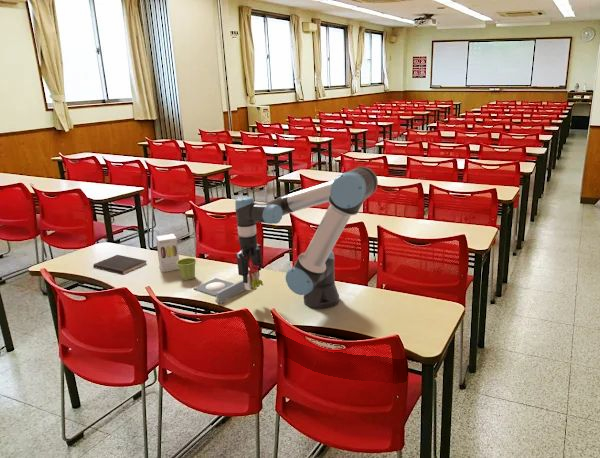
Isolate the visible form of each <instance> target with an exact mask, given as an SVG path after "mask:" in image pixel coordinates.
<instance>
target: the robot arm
mask: <svg viewBox="0 0 600 458" xmlns="http://www.w3.org/2000/svg"><path fill="white" fill-rule="evenodd" d="M378 182H379V181H378V177H377V174H376V173H375V171H373V170H372V169H371V168H369V167H367V166H357V167H355V168H353V169H351V170H349V171H345V172H343V173H340V174H339V175H338V176H337V177H335V179H332V180H330V181H326V182H322V183H320V184H317V185H314V186H310V187H308V188H303V189H301V190H297V191H295V192H292V193H289V194H283V195H281V196H279V197H277V198H275V199H273V200H270V201H268V202H266V203H258V202H255V201H254V198H253V197H252V196H239V197H237V198H236V199H235V202H234V203H235V206H234V207H235V209H234V210H235V215H236V222H237V223H236V225H237V235H238V243H239V246H240V250H239V252H235V257H236V261H237V269H238V270H237V271H238V275H239V276H242V280H243V282H244V285H245V290H247V291H251V290H252V288H251V286H250V275H248V270H249V265H250V261H251V264H252V265H255V266H259V268H258V269H257V271H258V272H257V273H256V272H255V275H256V278H257V280H260V271H262V268H263V259H262V257H263V256H262V245H261V244H258V237H257V236H258V235H257V223H263V224H264V223H265V224H269V225H272V224H273V225H275V224H278V223H280V222H281V220H282V219H283V216H285V215H288V214H290V213H291V214H292V213H295V212H298V211H301V210H303V209H308V208H311V207H314V206H319V205H323V204H326V203H329V206H328V208H327V209H326V212H325V213H324V215H323V217H322V219H321V221H320V222H319V225H318V227H317V229H316V231H315V233H314V234H313V237H312V239H311V240H310V243H309V244H308V247H306V250H305V252H302V253H301V252H300V254H299V255H298V257H297V259H296V261H295V263H294V265H292V267H291V268H288V271H286V274H285V282H286V284H287V286H288V289H290V290H291V292H293V293H294V294H296V295H298V296H303V304H304V305H305V306H307V307H309V308H312V309H323V310H324V309H329V308H333V307H335V306H337V305H338V304H339V302H340V294H339V292H338V289H337V286H336V282H335V281H336V279H335V278H336V277H335V275H336V274H335V258H336V257H335V253H334V251H333V249H334V247H335V246H336V244H337V242H338V240H339V238H340V236H341V234H342V233H343V231H344V229H345V227H346V226H347V224H348V222H349V220H350V218H351V216H354V215H357V214H358V213H359V211H360V209H361V207H362V205H363V204H364V202H365V200H366V199H369V197H371V196H372V195H373V194H374V193H375V192H376V191H377V188H378V185H379V184H378Z"/></svg>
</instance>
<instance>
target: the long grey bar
mask: <svg viewBox="0 0 600 458" xmlns="http://www.w3.org/2000/svg"><path fill="white" fill-rule="evenodd" d="M251 283H252V282H251ZM252 288H253V286H252V287H251V289H252ZM245 290H246V289H245V285H244V282H243V279H241V280H239V281H237V282H234V284H233V285H231V286H229V287H227V288H225V289H223V290H221V291H219V292H217V293H216V296H215V297H216V299H215V302H216V303H217V304H219V303H220V304H223V303H226V300H227V299H230V298H232V297H233V296H235V295H238V294H239V293H241V292H243V291H245Z"/></svg>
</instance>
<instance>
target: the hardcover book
mask: <svg viewBox="0 0 600 458" xmlns="http://www.w3.org/2000/svg"><path fill="white" fill-rule="evenodd" d="M142 265H143V266H145V265H147V260H144V259H139V258H134V257H131V256H130V257H129V256H126V255H122V254H121V255H120V254H116V255H114V256H113V255H112V256H111V257H108V258H105V259H103V260H100V261H97V262H95V263H93V268H94V267H97V268H96V269H98V268H100V269H99V270H103V269H104V271H107V272H111V273H117V274H121V275H124V274H127V273H130V272H131V271H134V270H136V269H138V268H141V267H143V266H142ZM140 266H141V267H140Z"/></svg>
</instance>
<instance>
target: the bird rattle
mask: <svg viewBox="0 0 600 458" xmlns="http://www.w3.org/2000/svg"><path fill="white" fill-rule="evenodd" d="M258 268H259V266H255V265H253V264H252V265H251V264H249V268H248V275H250V286H251V287H252V286H253V287H252V288H253V291H255V290H256V288H259V287H260V286H264V284H263V281H262V280H261V279H259V280H257V278H256V275H255V272H256V273H257V272H258V271H257V269H258ZM251 282H252V283H251Z"/></svg>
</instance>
